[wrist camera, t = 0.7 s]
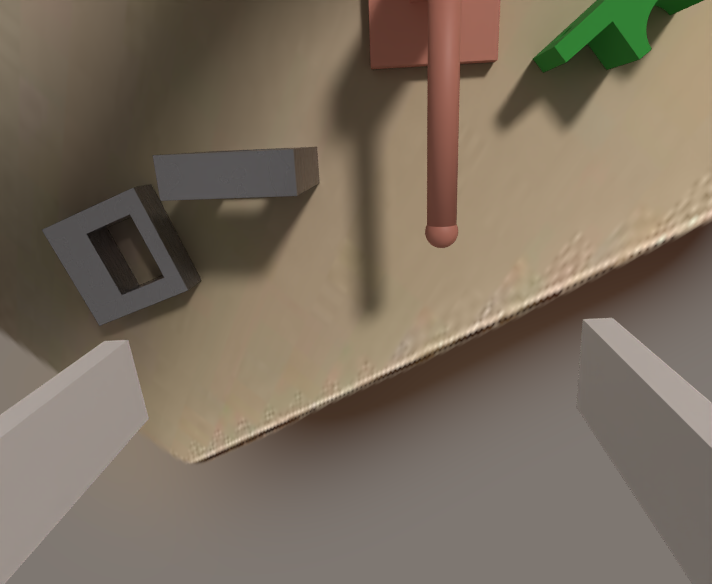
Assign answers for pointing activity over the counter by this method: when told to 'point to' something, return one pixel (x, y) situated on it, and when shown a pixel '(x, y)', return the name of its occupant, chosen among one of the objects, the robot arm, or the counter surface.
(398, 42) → the hook
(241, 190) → the link
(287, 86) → the counter surface
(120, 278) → the link
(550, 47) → the pipe clamp
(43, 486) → the robot arm
